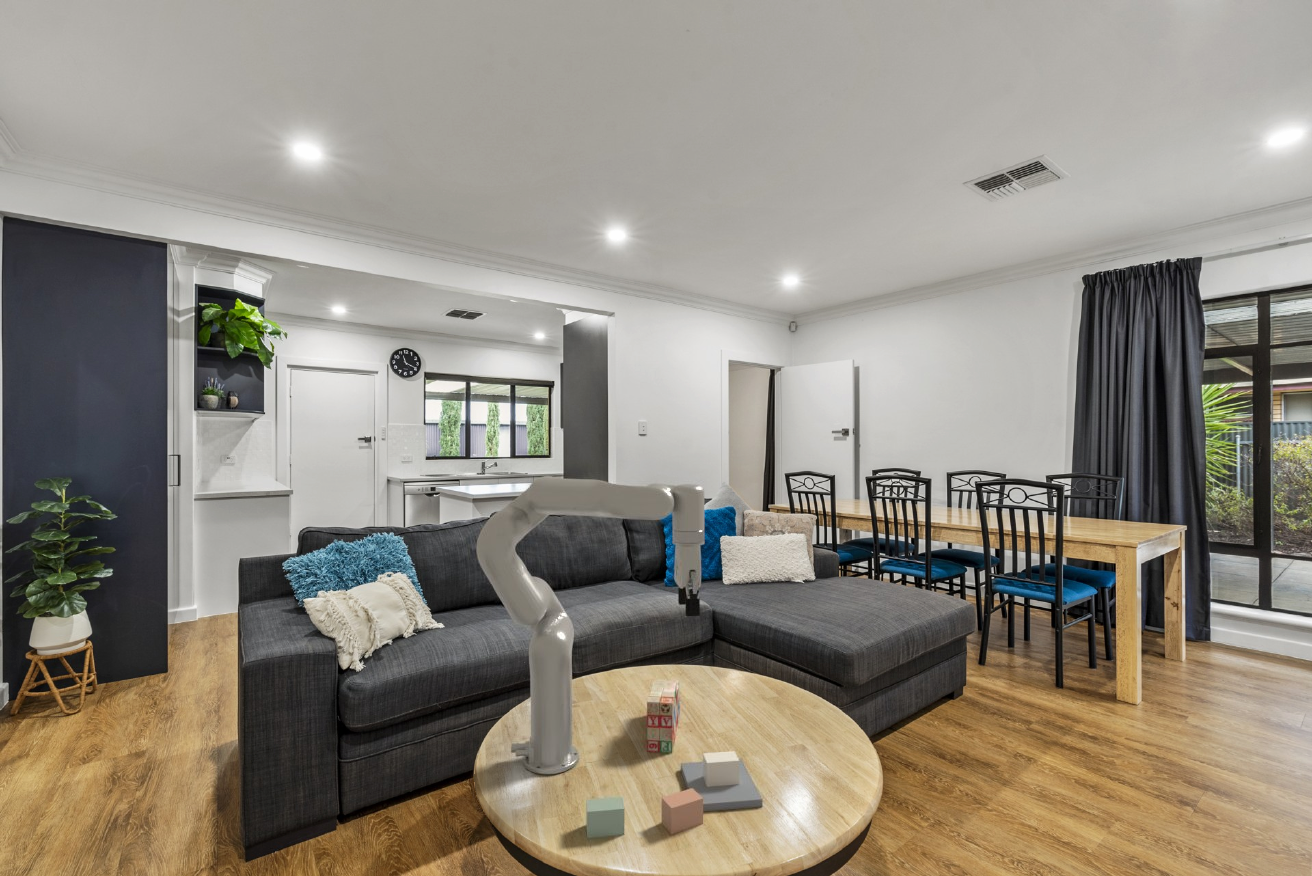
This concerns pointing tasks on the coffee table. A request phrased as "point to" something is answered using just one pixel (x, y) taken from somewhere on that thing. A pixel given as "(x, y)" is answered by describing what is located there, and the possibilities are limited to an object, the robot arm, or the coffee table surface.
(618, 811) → the sage brick
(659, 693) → the stack of blocks
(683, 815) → the terracotta brick
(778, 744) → the coffee table surface
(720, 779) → the ivory brick
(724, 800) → the slate board
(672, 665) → the coffee table surface
